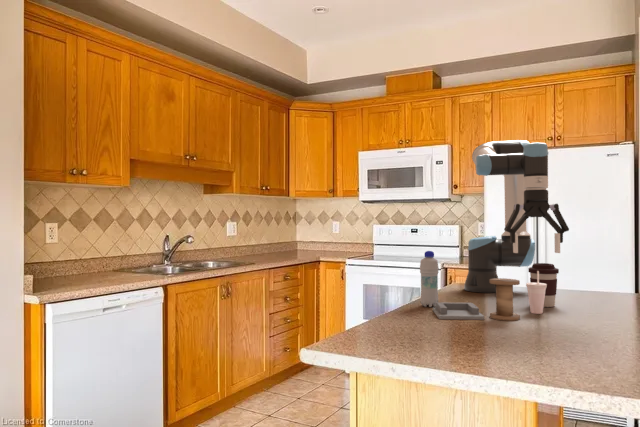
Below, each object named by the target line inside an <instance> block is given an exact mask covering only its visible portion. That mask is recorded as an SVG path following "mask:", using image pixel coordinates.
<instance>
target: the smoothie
mask: <svg viewBox="0 0 640 427" xmlns="http://www.w3.org/2000/svg"><path fill="white" fill-rule="evenodd" d="M525 286H526V289H527V295H528V303H529V309H530V313H531V314H537V315H539V314H540V315H541V314H543V313H544V307H543V306H544V298H545V290H546V287H547V284H545V283H539V271H537V283H530V282H526V285H525Z"/></svg>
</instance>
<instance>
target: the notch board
mask: <svg viewBox="0 0 640 427" xmlns="http://www.w3.org/2000/svg"><path fill="white" fill-rule="evenodd" d="M432 312H433V313H434V314H435V316H436V317H437V318H438V320H470V321H471V320H481V321H483V320H485V319H486V317H485V315H484V314H482V313H481V312H480V308H479V307H478V306H477V305H476V304H474V303H473V302H453V301H451V302H447V301H446V302H445V301H444V302H443V301H441V302H440V301H438V302H436V307H432Z"/></svg>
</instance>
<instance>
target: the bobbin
mask: <svg viewBox="0 0 640 427" xmlns="http://www.w3.org/2000/svg"><path fill="white" fill-rule="evenodd" d="M489 281H490V284H495V285H496V292H495V294H496V296H495V300H496V301H495V308H496V310H495V311H492V312H490V313H489V318H490V319H492V320H497V321H504V322H513V321H514V322H515V321H520V319H521V315H520V314H519V313H515V312H514V286H519V285H520V279H516V278H504V277H502V278H501V277H500V278H499V277H498V278H495V279H490V280H489Z"/></svg>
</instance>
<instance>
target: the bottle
mask: <svg viewBox="0 0 640 427" xmlns="http://www.w3.org/2000/svg"><path fill="white" fill-rule="evenodd" d="M434 257H435V253H434V251H432V250H426V251H425V252H424V258H421V260H420V263H419V273H420V305H421V306H422V307H424V308H427V306H428V307H429V308H436V302H439V290H438V289H439V286H438V285H439V284H438V283H439V278H438V277H439V276H438V274H439V263H438V259H436V258H434Z"/></svg>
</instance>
